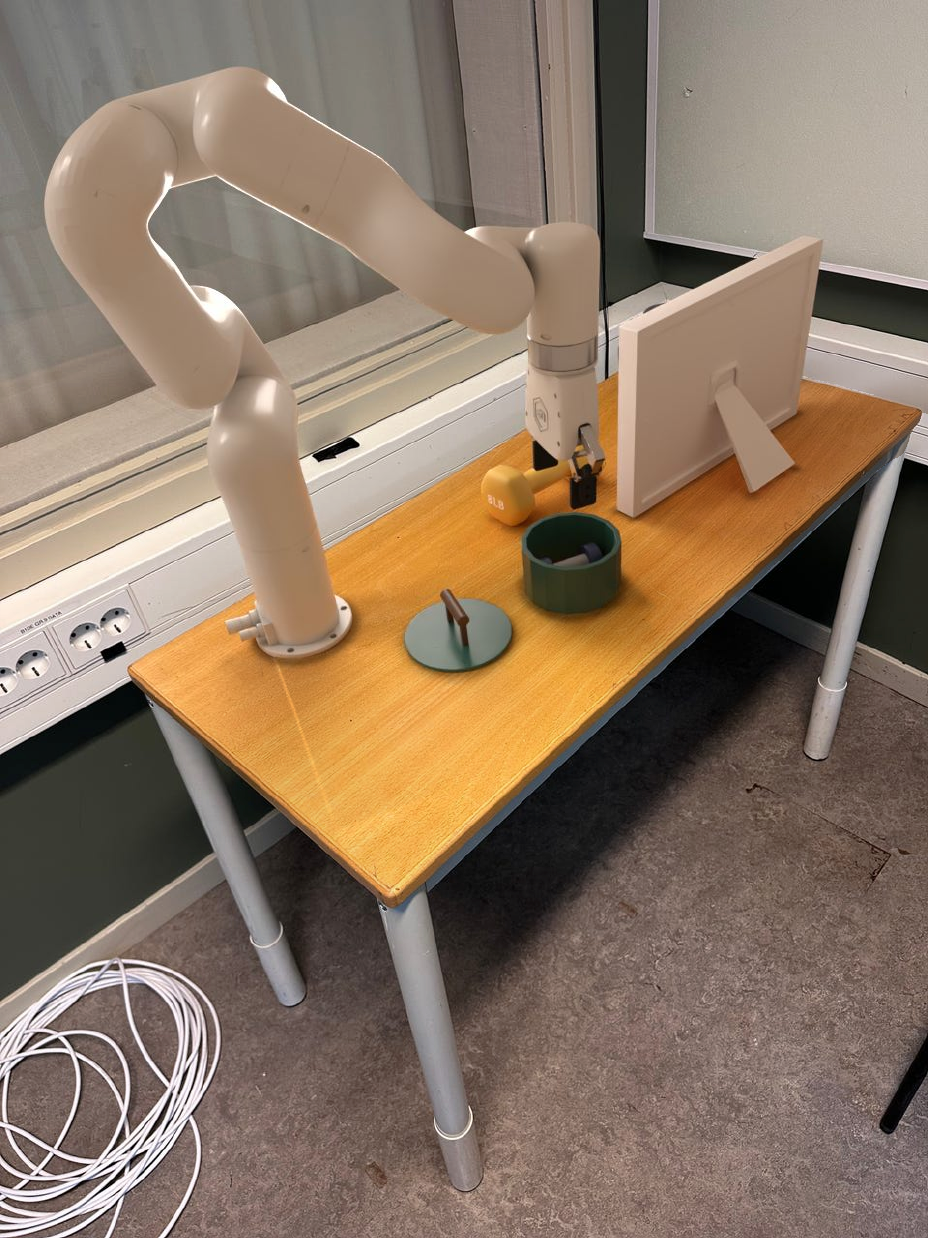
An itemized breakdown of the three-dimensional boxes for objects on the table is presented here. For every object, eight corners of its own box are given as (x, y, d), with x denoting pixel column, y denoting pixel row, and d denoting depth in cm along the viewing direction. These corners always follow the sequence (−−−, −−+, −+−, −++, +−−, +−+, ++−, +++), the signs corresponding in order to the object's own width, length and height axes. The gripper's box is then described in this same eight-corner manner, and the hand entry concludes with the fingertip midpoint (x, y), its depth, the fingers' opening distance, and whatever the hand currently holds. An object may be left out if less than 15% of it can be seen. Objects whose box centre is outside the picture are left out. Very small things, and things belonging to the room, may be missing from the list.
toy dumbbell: (549, 597, 113) (543, 565, 111) (536, 588, 117) (530, 556, 115) (607, 578, 115) (601, 546, 113) (591, 569, 119) (586, 538, 117)
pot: (550, 628, 110) (547, 581, 106) (509, 575, 120) (505, 529, 115) (637, 598, 113) (639, 550, 108) (591, 548, 122) (591, 502, 118)
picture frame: (780, 408, 147) (804, 234, 129) (849, 430, 139) (885, 250, 121) (616, 510, 129) (618, 325, 111) (686, 543, 121) (700, 350, 103)
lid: (426, 690, 104) (420, 653, 101) (391, 624, 114) (384, 589, 110) (530, 653, 107) (527, 616, 104) (487, 593, 117) (483, 557, 113)
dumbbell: (517, 538, 126) (513, 488, 121) (477, 513, 132) (471, 465, 126) (611, 484, 134) (612, 436, 129) (569, 464, 140) (568, 417, 135)
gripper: (498, 329, 101) (505, 461, 112) (568, 387, 88) (568, 530, 99) (558, 315, 103) (559, 447, 114) (634, 370, 90) (628, 512, 101)
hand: (563, 485), depth 106 cm, fingers open, 9 cm apart
